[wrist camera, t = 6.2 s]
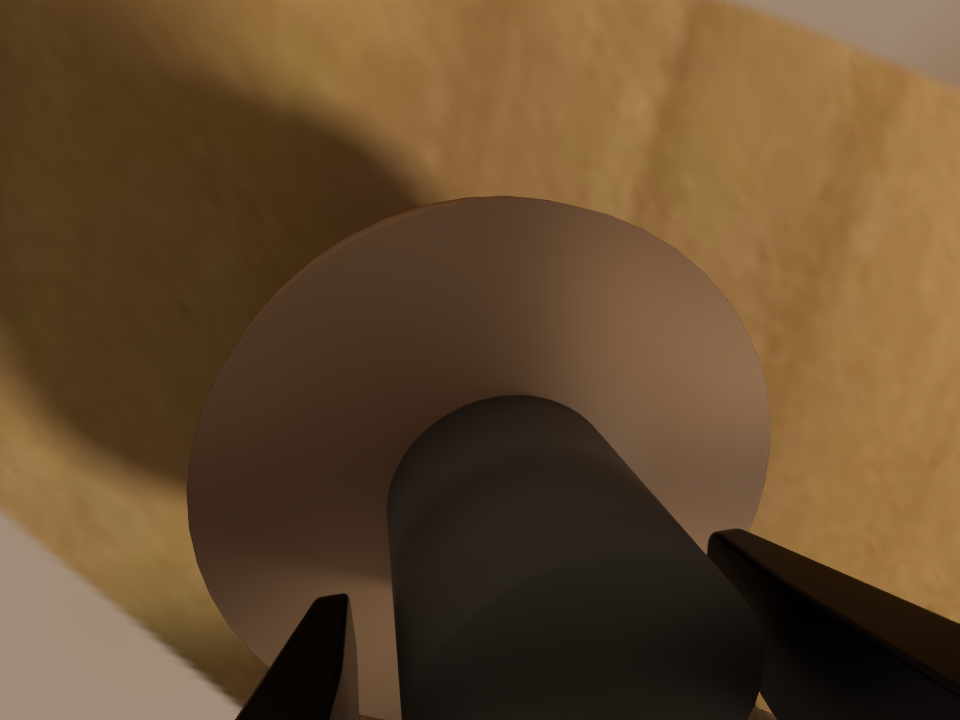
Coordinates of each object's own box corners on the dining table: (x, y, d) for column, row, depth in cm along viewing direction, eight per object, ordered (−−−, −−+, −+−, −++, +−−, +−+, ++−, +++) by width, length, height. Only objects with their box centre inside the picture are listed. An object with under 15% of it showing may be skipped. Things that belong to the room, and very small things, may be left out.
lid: (722, 623, 13) (918, 874, 9) (274, 731, 12) (215, 1106, 7) (754, 166, 10) (1111, 170, 5) (125, 234, 8) (-177, 329, 4)
